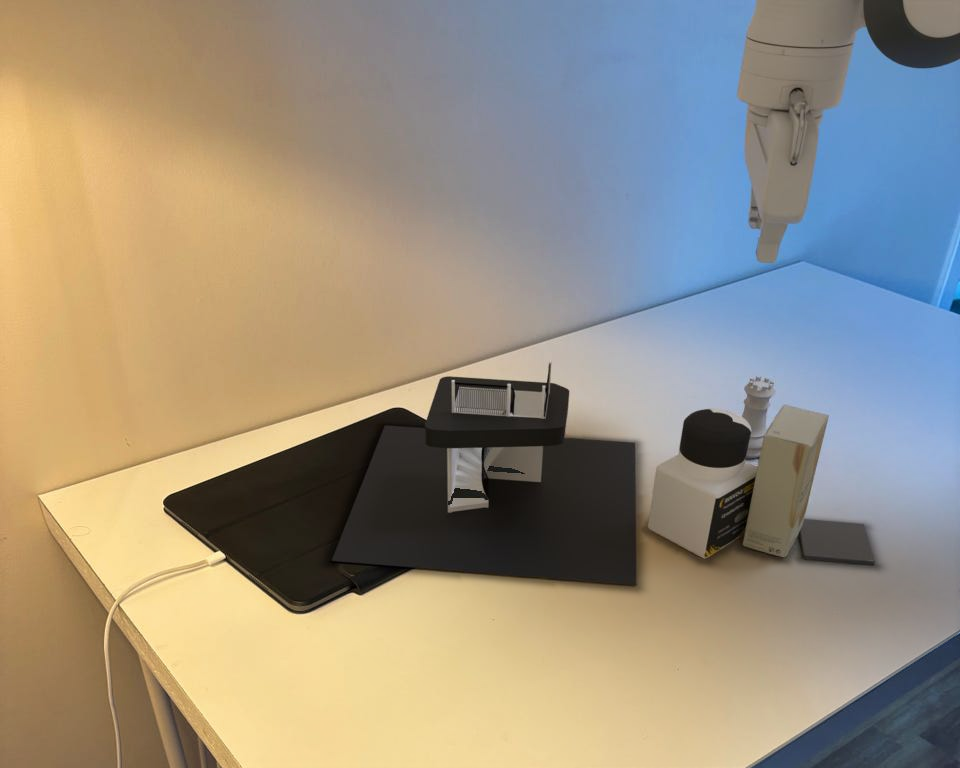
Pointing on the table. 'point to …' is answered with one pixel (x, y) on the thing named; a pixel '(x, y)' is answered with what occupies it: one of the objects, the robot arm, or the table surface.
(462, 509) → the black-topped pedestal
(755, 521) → the cosmetic box
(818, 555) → the slate coaster
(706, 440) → the medicine bottle
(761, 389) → the rook chess piece
